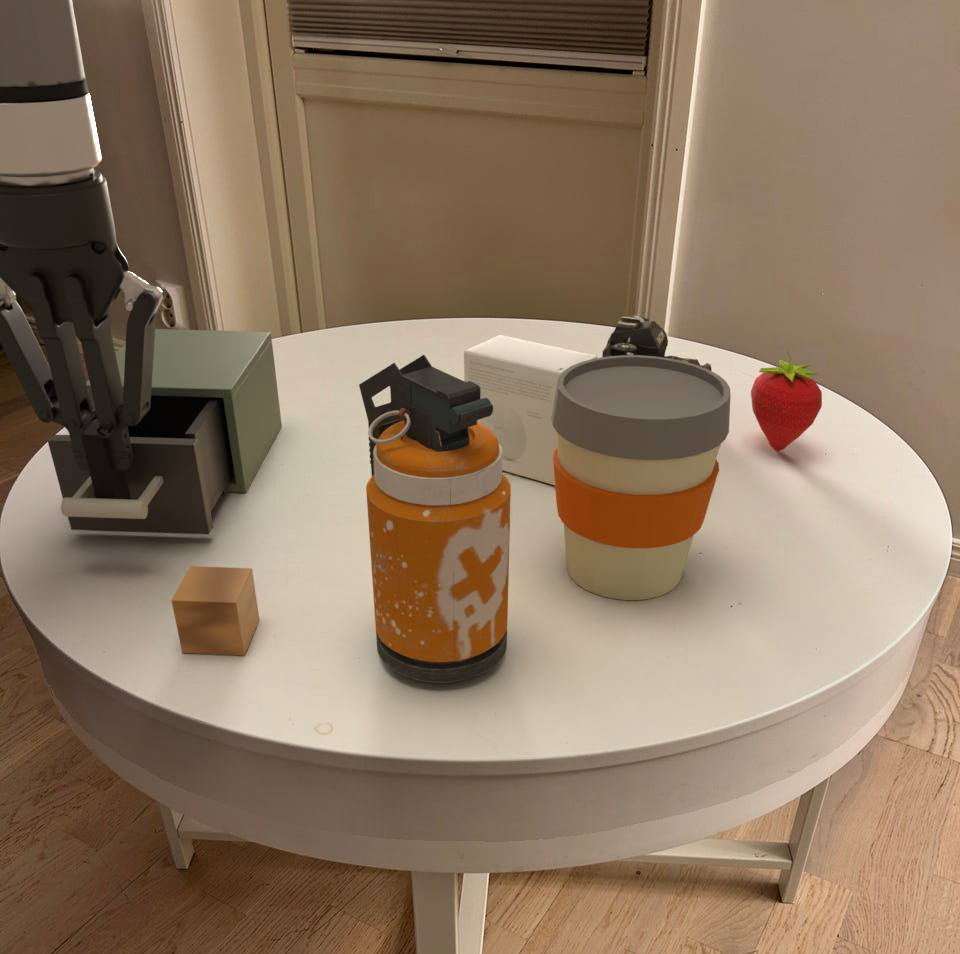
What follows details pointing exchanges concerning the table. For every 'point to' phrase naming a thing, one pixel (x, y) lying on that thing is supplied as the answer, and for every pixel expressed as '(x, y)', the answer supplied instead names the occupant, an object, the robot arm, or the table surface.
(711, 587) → the table surface
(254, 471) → the small drawer cabinet
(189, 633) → the block
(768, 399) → the strawberry
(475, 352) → the cosmetics box
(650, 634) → the table surface
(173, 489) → the open drawer
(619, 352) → the film camera
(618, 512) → the reusable coffee cup
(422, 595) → the canister
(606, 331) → the table surface
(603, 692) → the table surface
